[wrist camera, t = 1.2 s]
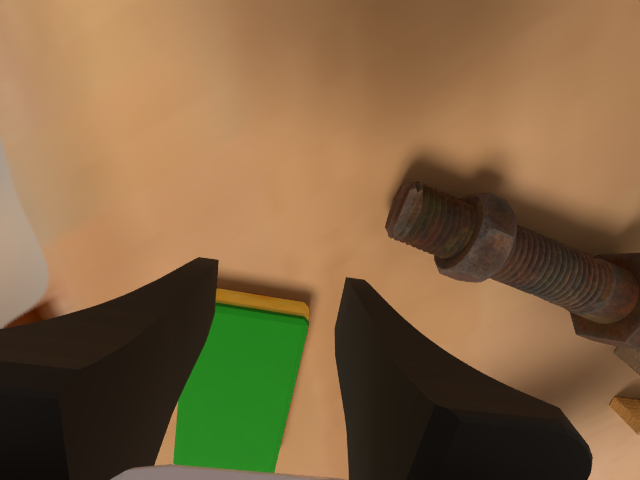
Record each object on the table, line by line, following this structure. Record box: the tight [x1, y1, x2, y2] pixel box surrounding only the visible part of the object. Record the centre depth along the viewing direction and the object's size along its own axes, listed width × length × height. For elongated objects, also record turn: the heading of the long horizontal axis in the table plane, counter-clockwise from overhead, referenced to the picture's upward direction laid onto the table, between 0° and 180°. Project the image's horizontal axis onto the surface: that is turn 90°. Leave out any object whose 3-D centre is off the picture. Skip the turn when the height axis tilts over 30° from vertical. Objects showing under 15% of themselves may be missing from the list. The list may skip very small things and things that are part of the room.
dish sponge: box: [173, 288, 309, 473], centre depth 24 cm, size 7×14×2 cm, turn 168°
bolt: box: [385, 182, 640, 349], centre depth 20 cm, size 6×5×15 cm
